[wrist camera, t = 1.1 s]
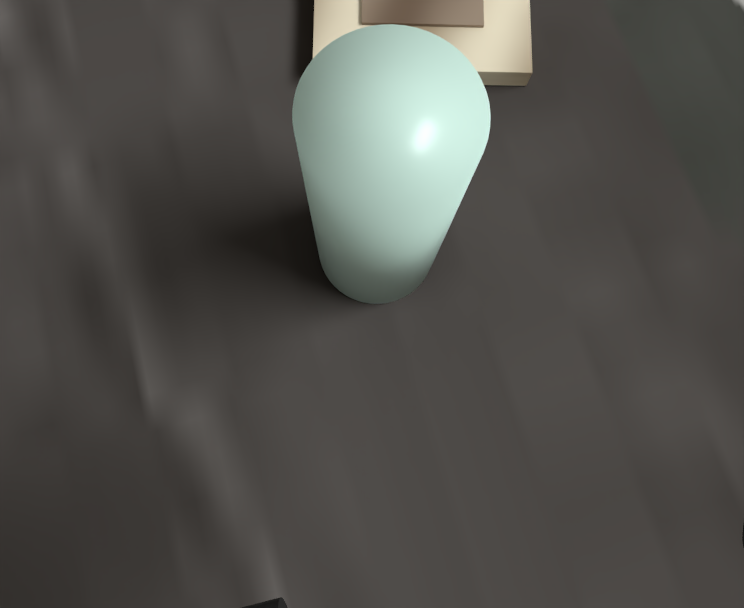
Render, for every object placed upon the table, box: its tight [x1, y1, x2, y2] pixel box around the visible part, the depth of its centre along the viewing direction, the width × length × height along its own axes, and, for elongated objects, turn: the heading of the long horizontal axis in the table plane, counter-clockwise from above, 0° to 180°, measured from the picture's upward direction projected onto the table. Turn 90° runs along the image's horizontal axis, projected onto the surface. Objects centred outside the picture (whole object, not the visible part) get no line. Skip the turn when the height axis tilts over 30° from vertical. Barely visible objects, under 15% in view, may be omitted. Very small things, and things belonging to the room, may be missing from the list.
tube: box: [292, 24, 491, 304], centre depth 24 cm, size 5×5×13 cm
